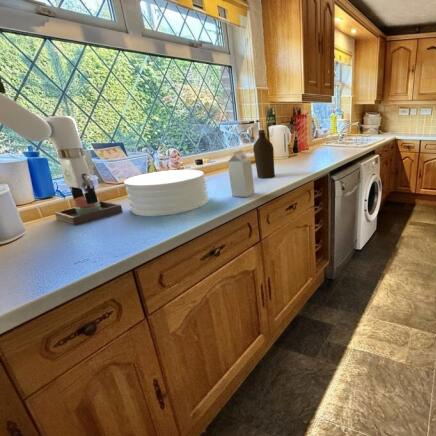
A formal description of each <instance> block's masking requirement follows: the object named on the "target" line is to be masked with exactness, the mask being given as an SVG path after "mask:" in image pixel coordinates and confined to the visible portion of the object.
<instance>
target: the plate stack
mask: <svg viewBox="0 0 436 436" xmlns="http://www.w3.org/2000/svg"><path fill="white" fill-rule="evenodd" d="M123 185H124V187H125V192H126V194H127V199H128V200H129V201H128V203H129V206H130V211H131V213H132V214H133V215H136V216H141V217H161V216H162V217H163V216H170V215H176V214H182V213H185V212H190V211H194V210H196V209H199V208H200V207H203V206H205V205H206V204H208V203H209V196H208V195H209V194H208V190H207V184H206V178H205V172H204V171H202V170H197V169H172V170H162V171H154V172H149V173H143V174H139V175H135V176H132V177H129V178H126V179H125V180H124V181H123Z"/></svg>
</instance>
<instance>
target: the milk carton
mask: <svg viewBox="0 0 436 436" xmlns="http://www.w3.org/2000/svg"><path fill="white" fill-rule="evenodd" d="M232 153H233V155H232V156H231V157H230V158H229V159H228V161H227V169H228V175H229V183H230V189H231V196H232V197H237V198H248V197H251V196H253V194H255V184H254V176H253V167H252V159H251V158H250V157H249V156H247V155H246V154H245V153H244V152H243V149H240V150H237V151H233V152H232Z"/></svg>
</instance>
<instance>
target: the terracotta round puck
mask: <svg viewBox="0 0 436 436" xmlns="http://www.w3.org/2000/svg"><path fill="white" fill-rule="evenodd" d="M96 196H97V200H98V202H96V203H92V204H87V201H86V198H85V195H84V196H83V197H78V198H75V199H72V203H73V206H74V208H75V207H78V208H89V207H93V206H96V205H97V203H99V202H100V198H99V196H98V195H96Z"/></svg>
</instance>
